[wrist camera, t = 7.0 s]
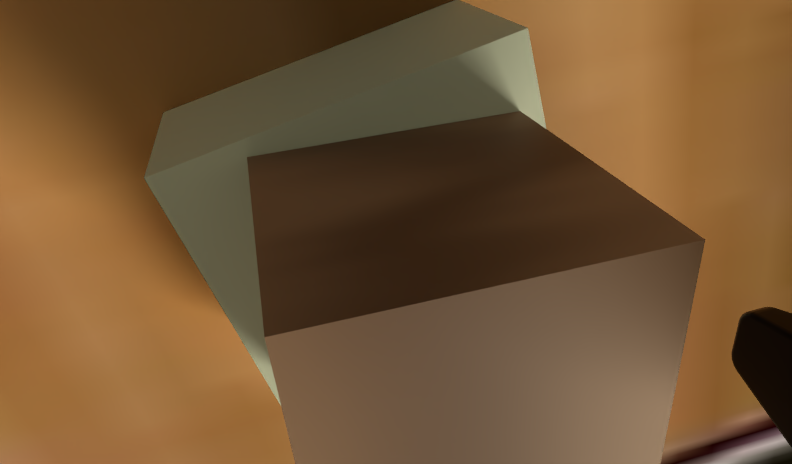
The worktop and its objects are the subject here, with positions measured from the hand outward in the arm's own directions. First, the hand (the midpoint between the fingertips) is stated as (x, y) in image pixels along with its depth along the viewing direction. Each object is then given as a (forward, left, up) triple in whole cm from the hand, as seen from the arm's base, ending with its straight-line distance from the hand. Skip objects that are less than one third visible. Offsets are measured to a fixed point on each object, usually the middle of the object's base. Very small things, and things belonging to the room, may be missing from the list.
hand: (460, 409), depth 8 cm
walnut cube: (0, 0, -4) cm, 4 cm away
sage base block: (0, 0, -8) cm, 8 cm away
